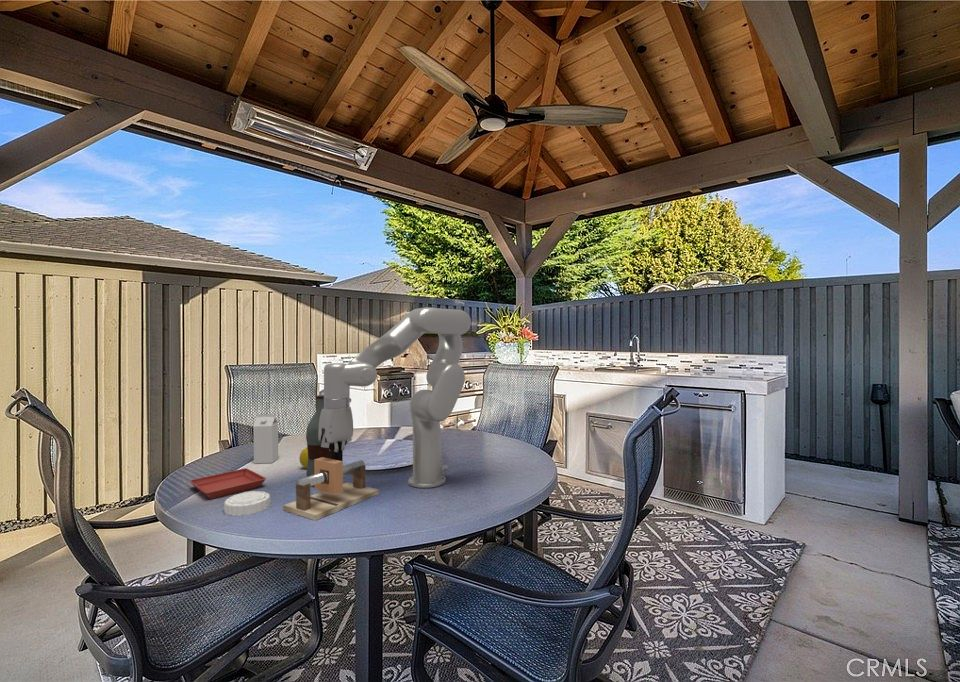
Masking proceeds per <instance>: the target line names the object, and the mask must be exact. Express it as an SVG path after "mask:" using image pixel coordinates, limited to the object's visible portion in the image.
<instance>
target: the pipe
mask: <svg viewBox="0 0 960 682" xmlns="http://www.w3.org/2000/svg"><path fill="white" fill-rule="evenodd" d="M365 464H366V463H365V461H364V460H363V459H359V460H356V461H353V462H349V463H347V464H344V465H343V477H344V476H347V475H350V474H353V472H356V471H359V470H360V467H361V466H364V465H365ZM365 466H366V465H365ZM326 481H329V471H324V472H320V473H318V474H315V475H311V476H308V477H307V476H305V477H302V478H299V479H297V481H296V483H297V484H299V485H303V486H304V485H307V484H310V488H312V486H315V485H318V484H321V483H325V482H326ZM303 486H302V489H303ZM299 488H301V487H299ZM299 488H298V489H299ZM302 489H301V490H302Z"/></svg>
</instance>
